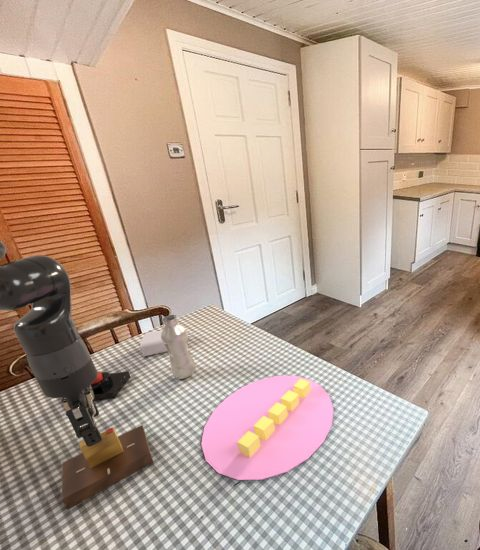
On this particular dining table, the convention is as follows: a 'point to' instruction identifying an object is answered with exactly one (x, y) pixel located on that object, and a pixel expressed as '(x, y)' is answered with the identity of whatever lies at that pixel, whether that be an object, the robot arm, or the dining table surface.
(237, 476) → the platter
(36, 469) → the dining table surface
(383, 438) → the dining table surface
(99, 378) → the button
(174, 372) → the plastic bottle
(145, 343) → the charger
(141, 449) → the plate
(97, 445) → the lock knob
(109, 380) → the switch block
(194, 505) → the dining table surface
